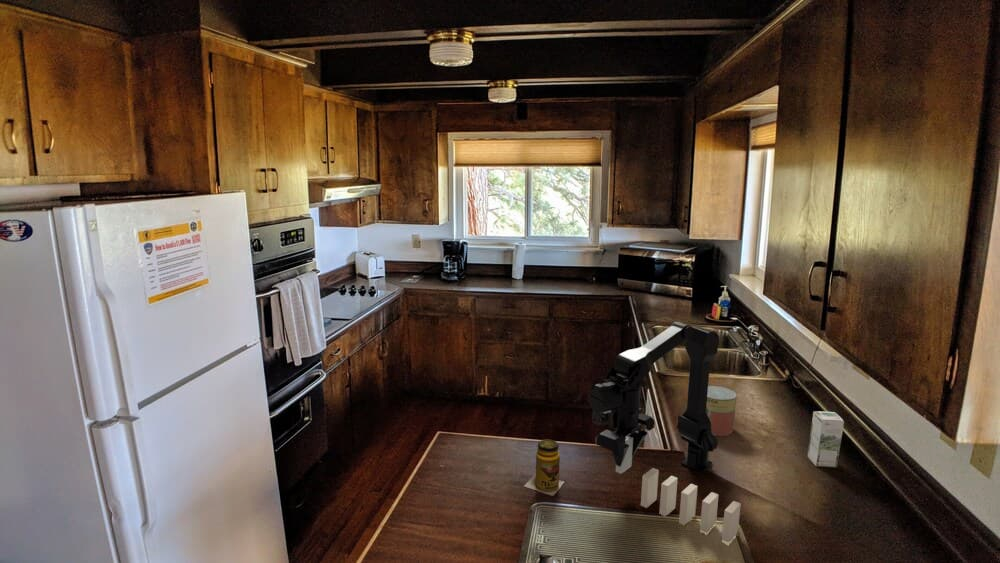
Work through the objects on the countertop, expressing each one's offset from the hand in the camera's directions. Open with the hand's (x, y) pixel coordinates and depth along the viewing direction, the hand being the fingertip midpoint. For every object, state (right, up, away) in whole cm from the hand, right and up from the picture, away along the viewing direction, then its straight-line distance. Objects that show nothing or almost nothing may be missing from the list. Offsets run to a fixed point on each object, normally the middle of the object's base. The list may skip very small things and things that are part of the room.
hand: (624, 461), depth 142 cm
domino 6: (+20, -12, -17) cm, 29 cm away
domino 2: (+5, -9, -3) cm, 11 cm away
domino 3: (+9, -10, -7) cm, 15 cm away
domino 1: (0, -2, 0) cm, 2 cm away
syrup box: (+60, -6, +16) cm, 62 cm away
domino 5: (+16, -11, -14) cm, 24 cm away
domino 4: (+13, -10, -10) cm, 19 cm away
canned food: (+37, -1, +37) cm, 53 cm away
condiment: (-20, -7, +4) cm, 22 cm away
